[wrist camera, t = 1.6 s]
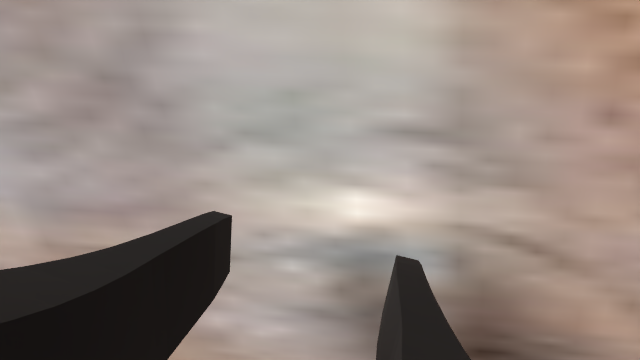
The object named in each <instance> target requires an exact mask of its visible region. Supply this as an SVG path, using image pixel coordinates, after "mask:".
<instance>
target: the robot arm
mask: <svg viewBox="0 0 640 360" xmlns="http://www.w3.org/2000/svg"><path fill="white" fill-rule="evenodd" d="M231 225H232V216H231V215H227V214H223V213H219V212H215V211H212V212H208V213H205V214H202V215H199V216H197V217H194V218H191V219H189V220H186V221H183V222H181V223H178V224H176V225H173V226H170V227H168V228H165V229H162V230H160V231H157V232H155V233H152V234H149V235H146V236H143V237H140V238H137V239H134V240H131V241H128V242H125V243H122V244H119V245H116V246H113V247H110V248H106V249H102V250H99V251H95V252H91V253H87V254H83V255H79V256H75V257H71V258H66V259H61V260H56V261H51V262H46V263H40V264H35V265H30V266H24V267H18V268H11V269H4V270H0V360H167V359H168V358H169V357H170V355H171V354H172V353H173V352H174V350H175V349H176V348H177V346H178V345H179V344H180V343H181V341H182V340H183V339H184V337H185V336H186V335H187V334H188V332H189V331H190V330H191V328H192V327H193V326H194V325H195V323H196V322H197V321H198V319H199V318H200V317H201V315H202V314H203V313H204V312H205V310H206V309H207V308H208V306H209V305H210V304H211V302H212V301H213V300H214V298H215V296H216V295H217V293H218V291H219V290H220V288H221V286H222V285H223V283H224V281H225V279H226V277H227V275H228V274H229V272H230V250H231ZM376 360H471V359H470V358H469V356H468V355H467V353H466V352H465V350H464V349H463V347H462V346H461V344H460V342H459V341H458V339H457V337H456V336H455V334H454V332H453V331H452V329H451V327H450V326H449V324H448V322H447V320H446V318H445V317H444V315H443V313H442V311H441V309H440V307H439V305H438V303H437V301H436V299H435V297H434V295H433V292H432V290H431V288H430V286H429V283H428V281H427V279H426V276H425V274H424V271H423V268H422V265H421V264H420V262H419V261H418V260H414V259H410V258H406V257H402V256H397V255H396V259H395V263H394V267H393V271H392V276H391V280H390V284H389V288H388V292H387V296H386V300H385V304H384V309H383V313H382V319H381V325H380V330H379V336H378V343H377V355H376Z"/></svg>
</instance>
